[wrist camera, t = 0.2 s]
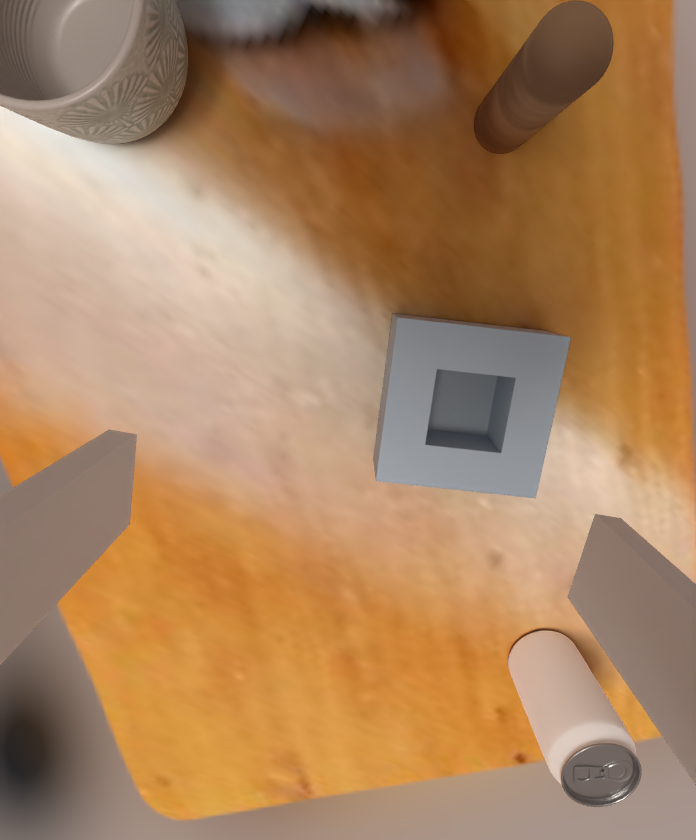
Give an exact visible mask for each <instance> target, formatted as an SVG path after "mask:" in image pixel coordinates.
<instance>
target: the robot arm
mask: <svg viewBox="0 0 696 840" xmlns="http://www.w3.org/2000/svg"><path fill="white" fill-rule="evenodd" d="M136 438H137V434H131V433H125V432H120V431H114V430H108V431H106V432H104V433H103V434H101V435H99V436H98V437H96V438H94V439H93V440H91V441H90V442H88V443H86V444H85V445H83V446H81V447H80V448H78V449H76V450H75V451H73V452H71V453H70V454H68V455H66V456H65V457H63V458H62V459H60V460H58V461H57V462H55V463H53V464H52V465H50V466H48V467H47V468H45V469H43V470H42V471H40V472H38V473H37V474H35V475H34V476H32V477H30V478H29V479H27V480H25V481H24V482H22V483H20V484H19V485H17V486H15V487H14V488H12V489H10V490H9V491H7V492H6V493H4V494H2V495H1V496H0V665H1V664H2V662H3V661H4V660H5V659H6V658H7V657H8V656H9V655H10V654H11V653H12V651H14V649H15V648H16V647H17V646H18V645H19V644H20V643H21V642H22V641H23V640H24V639H25V637H26V636H27V635H28V634H29V633H30V632H31V631H32V630H33V629H34V628H35V627H36V626H37V624H38V623H39V622H40V621H41V620H42V619H43V618H44V617H45V616H46V615H47V613H48V612H49V611H50V610H51V609H52V608H53V607H54V606H55V605H56V604H57V603H58V602H59V600H60V599H61V598H62V597H63V596H64V595H65V594H66V593H67V592H68V591H69V590H70V589H71V587H72V586H73V585H74V584H75V583H76V582H77V581H78V580H79V579H80V578H81V577H82V575H83V574H84V573H85V572H86V571H87V570H88V569H89V568H90V567H91V566H92V565H93V564H94V562H95V561H96V560H97V559H98V558H99V557H100V556H101V555H102V554H103V553H104V552H105V550H106V549H107V548H108V547H109V546H110V545H111V544H112V543H113V542H114V541H115V540H116V539H117V537H118V536H119V535H120V534H121V533H122V532H123V531H124V530H125V529H126V528H127V527H128V525H129V524H130V515H131V502H132V489H133V476H134V464H135V451H136ZM568 598H569V600H570V601H571V603H572V604H573V606H574V607H575V609H576V610H577V612H578V613H579V615H580V616H581V618H582V619H583V620H584V622H585V623H586V625H587V626H588V628H589V629H590V631H591V632H592V634H593V635H594V637H595V638H596V640H597V641H598V642H599V644H600V645H601V647H602V648H603V650H604V651H605V653H606V654H607V656H608V657H609V659H610V660H611V662H612V663H613V664H614V666H615V667H616V669H617V670H618V672H619V673H620V675H621V676H622V678H623V679H624V681H625V682H626V683H627V685H628V686H629V688H630V689H631V691H632V692H633V694H634V695H635V697H636V698H637V700H638V701H639V703H640V704H641V705H642V707H643V708H644V710H645V711H646V713H647V714H648V716H649V717H650V719H651V720H652V722H653V723H654V725H655V726H656V727H657V729H658V730H659V732H660V733H661V735H662V736H663V738H664V739H665V741H666V742H667V744H668V745H669V747H670V748H671V749H672V751H673V752H674V754H675V755H676V757H677V758H678V759H679V761H680V762H681V764H682V766H683V767H684V769H685V770H686V771H687V773H688V774H689V776H690V777H691V779H692V780H693V782H694V783H695V785H696V584H695V583H694V582H693V581H691V580H690V579H689V578H688V577H687V576H686V575H685V574H683V573H682V572H681V571H680V570H679V569H678V568H677V567H676V566H674V565H673V564H672V563H671V562H670V561H669V560H668V559H666V558H665V557H664V556H663V555H662V554H661V553H660V552H658V551H657V550H656V549H655V548H654V547H653V546H652V545H651V544H649V543H648V542H647V541H646V540H645V539H644V538H643V537H641V536H640V535H639V534H638V533H637V532H636V531H635V530H634V529H632V528H631V527H630V526H629V525H628V524H627V523H626V522H624V521H623V520H622V519H621V518H615V517H610V516H604V515H598V514H595V516H594V519H593V522H592V525H591V528H590V531H589V534H588V537H587V540H586V543H585V546H584V549H583V552H582V555H581V558H580V561H579V564H578V567H577V570H576V573H575V576H574V579H573V582H572V585H571V588H570V591H569V594H568Z"/></svg>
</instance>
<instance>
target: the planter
mask: <svg viewBox="0 0 696 840" xmlns="http://www.w3.org/2000/svg"><path fill="white" fill-rule="evenodd" d="M187 71H188V46H187V39H186V33H185V28H184V24H183V20H182V17H181V14H180V11H179V8H178V6H177V3H176V1H175V0H0V106H2V107H4V108H7V109H9V110H11V111H13V112H15V113H18V114H20V115H22V116H24V117H26V118H29V119H31V120H33V121H36V122H38V123H40V124H42V125H45V126H47V127H49V128H52V129H54V130H57V131H60V132H62V133H65V134H68V135H70V136H73V137H76V138H80V139H84V140H88V141H92V142H97V143H106V144H117V143H126V142H131V141H135V140H138V139H140V138H143V137H145V136H147V135H149V134H150V133H152V132H153V131H155V130H156V129H158V128H159V127H160V126H161V125H162V124H163V123H164V122H165V121H166V120H167V119H168V118H169V116H170V115H171V114H172V113H173V111H174V109H175V108H176V106H177V104H178V102H179V100H180V98H181V96H182V93H183V90H184V87H185V83H186V78H187Z"/></svg>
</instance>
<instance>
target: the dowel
mask: <svg viewBox="0 0 696 840" xmlns="http://www.w3.org/2000/svg"><path fill="white" fill-rule="evenodd" d="M612 52H613V33H612V29H611V26H610V23H609V21H608V19H607V18H606V16H605V15H604V13H603V12H602V11H601V10H600V9H599V8H597V7H596V6H594V5H593V4H590V3H588V2H584V1H568V2H564V3H562V4H560V5H558V6H556V7H554V8H553V9H552V10H550V11H549V12H548V13H547V14H546V15H545V16H544V17H543V18H542V20H541V21H540V22H539V24H538V25H537V26H536V28H535V29H534V31H533V32H532V33H531V35H530V36H529V38H528V39H527V40H526V42H525V43H524V45H523V46H522V47H521V49H520V50H519V51H518V53H517V54H516V56H515V57H514V58H513V60H512V61H511V63H510V64H509V65H508V67H507V68H506V70H505V71H504V72H503V74H502V75H501V77H500V78H499V79H498V81H497V82H496V84H495V85H494V86H493V88H492V89H491V90H490V92H489V93H488V95H487V96H486V97H485V99H484V100H483V102H482V103H481V104H480V106H479V108H478V110H477V112H476V115H475V119H474V130H475V135H476V137H477V140H478V141H479V143H480V144H481V145H482V146H483V147H484V148H485V149H486V150H488V151H490V152H492V153H496V154H504V153H508V152H511V151H513V150H515V149H516V148H518V147H519V146H520V145H521V144H523V143H524V142H525V141H526V140H527V139H529V138H530V137H531V136H532V135H534V134H535V133H536V132H537V131H538V130H540V129H541V128H542V127H543V126H545V125H546V124H547V123H548V122H549V121H551V120H552V119H553V118H554V117H556V116H557V115H558V114H559V113H560V112H562V111H563V110H564V109H565V108H567V107H568V106H569V105H570V104H571V103H573V102H574V101H575V100H576V99H578V98H579V97H580V96H581V95H582V94H584V93H585V92H586V91H587V90H589V89H590V88H591V87H592V86H593V85H595V84H596V83H597V82H598V81H599V80H600V78H601V77H602V76H603V74H604V73H605V71H606V69H607V68H608V65H609V63H610V60H611V57H612Z"/></svg>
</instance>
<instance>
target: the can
mask: <svg viewBox="0 0 696 840" xmlns="http://www.w3.org/2000/svg"><path fill="white" fill-rule="evenodd" d="M508 667H509V671H510V674H511V676H512V679H513V682H514V684H515V687H516V689H517V692H518V694H519V697H520V699H521V702H522V704H523V707H524V709H525V712H526V714H527V717H528V719H529V721H530V724H531V726H532V729H533V731H534V734H535V736H536V739H537V741H538V744H539V746H540V748H541V751H542V753H543V756H544V758H545V761H546V763H547V765H548V767H549V769H550V771H551V773H552V775H553V776H554V777H555V779H556V780H557V781H558V782H559V783H560V784H561V785H562V787H563V789H564V791H565V792H566V794H567V795H568V796H569V797H570V798H571V799H572V800H574V801H576V802H577V803H580V804H583V805H586V806H591V807H603V806H609V805H612V804H615V803H618V802H620V801H622V800H624V799H625V798H627V797H628V796H629V795H630V794H631V793H632V792H633V791H634V790H635V789H636V787H637V785H638V784H639V782H640V778H641V765H640V762H639V760H638V758H637V757H636V749H635V745H634V742H633V740H632V738H631V736H630V734H629V732H628V731H627V729H626V727H625V726H624V724H623V722H622V721H621V719H620V717H619V716H618V714H617V712H616V711H615V709H614V707H613V706H612V704H611V703H610V701H609V699H608V698H607V696H606V694H605V693H604V691H603V690H602V688H601V686H600V685H599V683H598V681H597V680H596V678H595V677H594V675H593V673H592V672H591V670H590V668H589V667H588V665H587V664H586V662H585V660H584V659H583V657H582V656H581V654H580V652H579V651H578V649H577V648H576V646H575V645H574V643H573V642H572V641H571V640H570V639H569V638H568V637H566V636H565V635H563V634H561V633H558V632H554V631H545V630H543V631H536V632H532V633H529V634H527V635H525V636H524V637H522V638H521V639H520V640H519V641H518V642H517V643H516V644H515V645H514V647H513V648H512V650H511V652H510V654H509V658H508Z"/></svg>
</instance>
